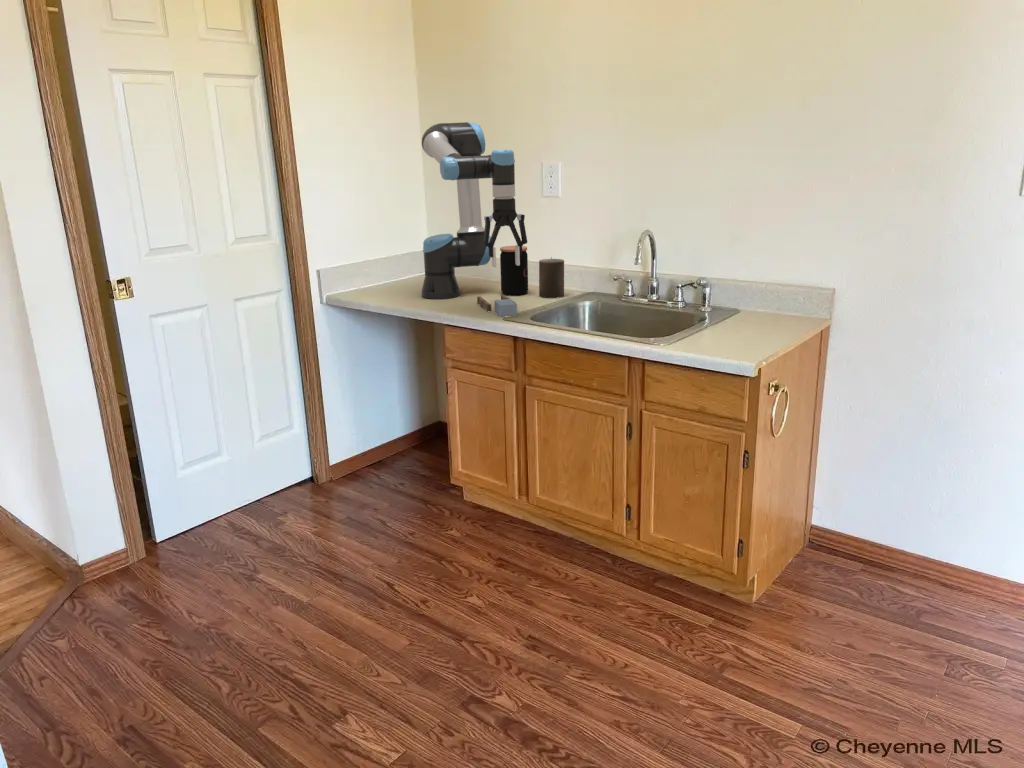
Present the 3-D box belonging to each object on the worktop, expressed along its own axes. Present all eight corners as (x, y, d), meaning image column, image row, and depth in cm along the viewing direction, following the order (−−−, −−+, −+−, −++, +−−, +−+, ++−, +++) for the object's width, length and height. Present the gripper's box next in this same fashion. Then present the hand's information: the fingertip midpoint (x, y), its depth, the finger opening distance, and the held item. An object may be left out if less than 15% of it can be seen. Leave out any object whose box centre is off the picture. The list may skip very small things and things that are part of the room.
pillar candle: (555, 299, 298) (555, 259, 293) (534, 296, 303) (533, 257, 299) (569, 295, 305) (569, 256, 301) (548, 292, 311) (548, 254, 306)
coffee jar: (529, 295, 306) (528, 249, 300) (502, 296, 305) (500, 250, 299) (527, 290, 316) (526, 245, 310) (500, 291, 315) (499, 246, 309)
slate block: (494, 312, 280) (494, 300, 279) (511, 311, 281) (510, 298, 280) (500, 318, 272) (499, 305, 270) (517, 316, 273) (516, 304, 272)
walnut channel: (477, 303, 295) (477, 296, 294) (504, 300, 297) (503, 294, 297) (488, 312, 280) (488, 305, 279) (516, 309, 283) (516, 302, 282)
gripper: (529, 195, 269) (531, 262, 276) (471, 198, 264) (474, 266, 271) (536, 197, 262) (537, 265, 269) (476, 200, 257) (479, 269, 264)
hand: (505, 265), depth 270 cm, fingers open, 8 cm apart
